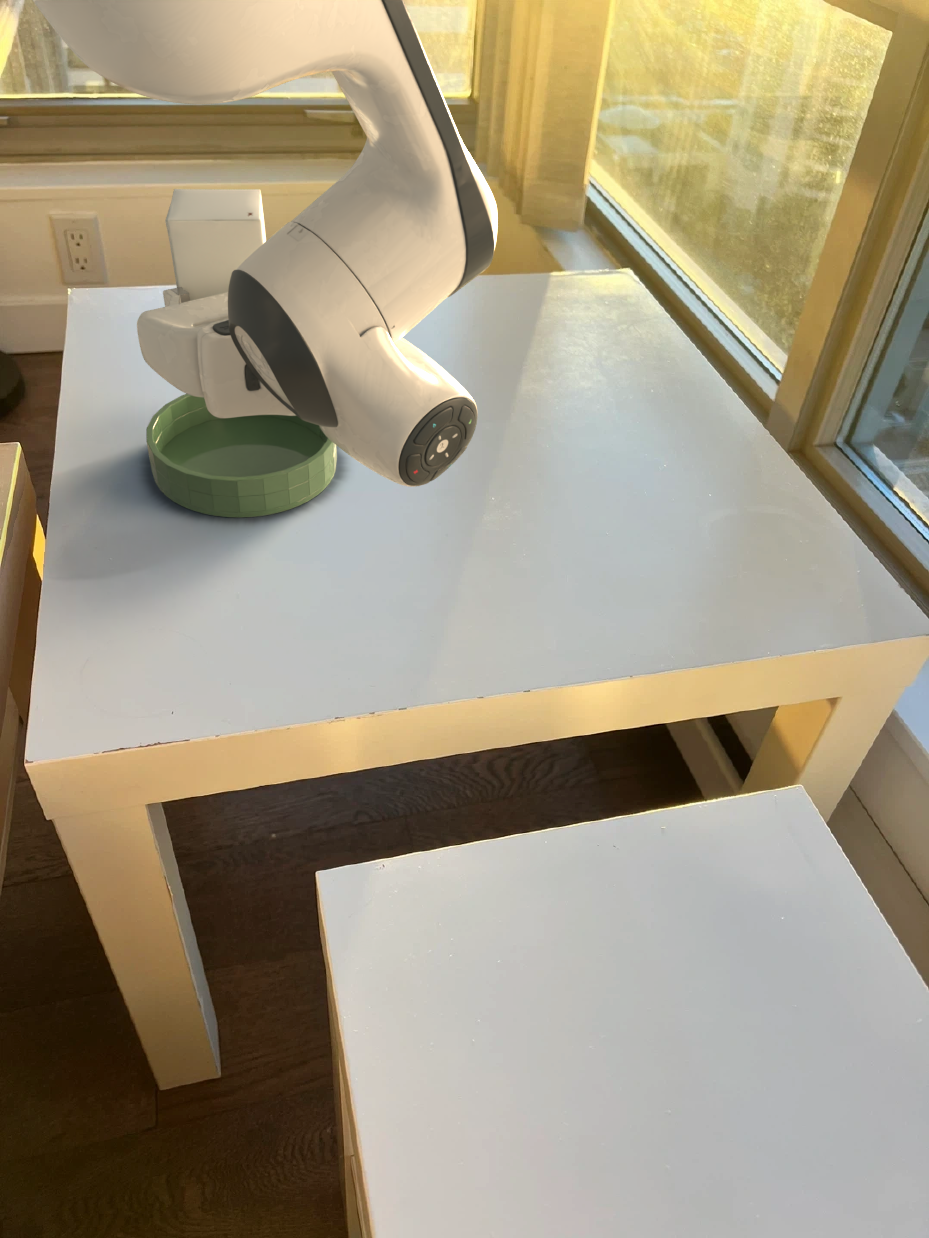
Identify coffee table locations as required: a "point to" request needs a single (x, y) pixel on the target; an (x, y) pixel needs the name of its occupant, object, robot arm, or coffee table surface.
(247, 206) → the white packaging box
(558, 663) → the coffee table surface
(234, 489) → the bowl
